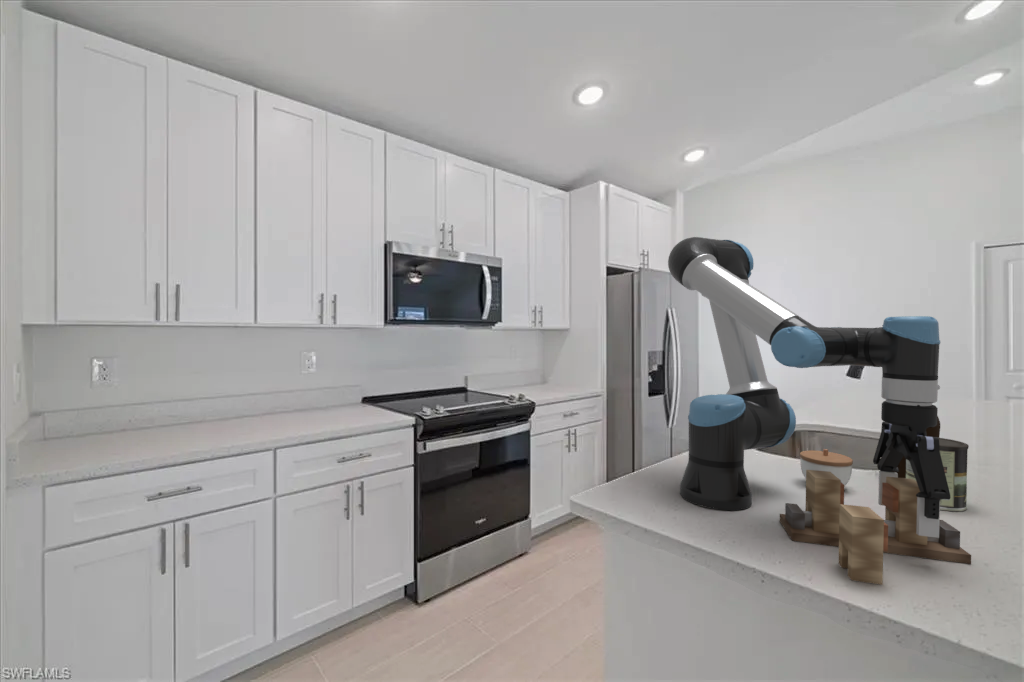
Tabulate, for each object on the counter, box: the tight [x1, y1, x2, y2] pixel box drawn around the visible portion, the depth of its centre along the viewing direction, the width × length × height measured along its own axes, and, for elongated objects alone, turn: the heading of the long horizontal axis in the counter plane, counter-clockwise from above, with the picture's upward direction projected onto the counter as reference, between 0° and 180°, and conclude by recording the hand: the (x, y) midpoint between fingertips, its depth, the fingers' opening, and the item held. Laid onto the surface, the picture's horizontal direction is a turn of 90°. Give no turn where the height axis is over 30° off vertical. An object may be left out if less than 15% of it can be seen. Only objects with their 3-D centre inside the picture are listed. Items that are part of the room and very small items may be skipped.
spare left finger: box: [837, 503, 888, 586], centre depth 71 cm, size 5×5×10 cm
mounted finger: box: [804, 470, 845, 534], centre depth 85 cm, size 5×5×10 cm
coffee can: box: [906, 437, 969, 512], centre depth 101 cm, size 10×10×14 cm
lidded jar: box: [799, 448, 854, 487], centre depth 111 cm, size 11×11×9 cm
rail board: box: [779, 502, 972, 565], centre depth 83 cm, size 26×9×4 cm, turn 72°
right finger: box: [882, 477, 928, 545], centre depth 81 cm, size 5×5×10 cm
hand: (905, 519), depth 81 cm, fingers open, 13 cm apart
